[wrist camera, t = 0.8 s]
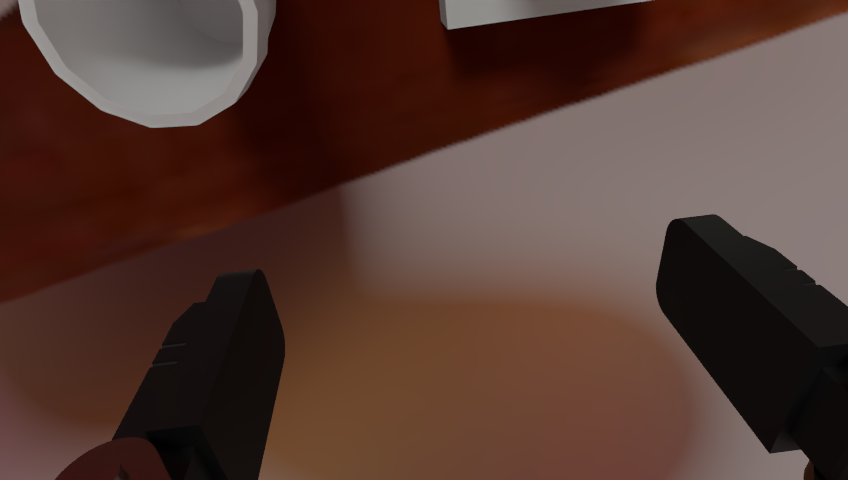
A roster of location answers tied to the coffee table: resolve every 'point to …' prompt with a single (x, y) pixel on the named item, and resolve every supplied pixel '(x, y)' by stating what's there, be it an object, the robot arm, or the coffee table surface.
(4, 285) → the coffee table surface
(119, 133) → the coffee table surface
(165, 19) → the foam cup
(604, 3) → the frame
